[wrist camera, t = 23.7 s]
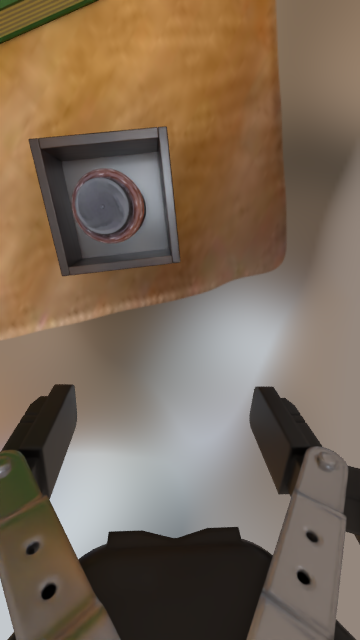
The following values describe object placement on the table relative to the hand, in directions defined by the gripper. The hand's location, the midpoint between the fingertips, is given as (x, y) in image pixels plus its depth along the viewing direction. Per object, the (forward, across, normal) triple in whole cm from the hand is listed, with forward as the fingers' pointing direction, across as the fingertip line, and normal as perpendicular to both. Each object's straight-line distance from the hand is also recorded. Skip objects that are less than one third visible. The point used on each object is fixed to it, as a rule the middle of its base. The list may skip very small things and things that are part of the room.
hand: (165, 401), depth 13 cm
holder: (+25, +5, -7) cm, 27 cm away
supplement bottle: (+24, +5, -7) cm, 26 cm away
